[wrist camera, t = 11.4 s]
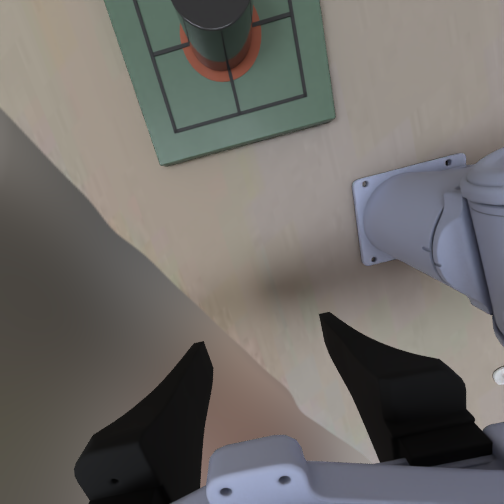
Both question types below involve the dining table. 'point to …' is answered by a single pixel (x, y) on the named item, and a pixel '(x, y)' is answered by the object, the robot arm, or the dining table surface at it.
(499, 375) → the game piece set
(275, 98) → the board
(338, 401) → the dining table surface
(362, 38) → the dining table surface
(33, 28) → the dining table surface
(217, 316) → the dining table surface
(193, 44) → the dark grey canister
